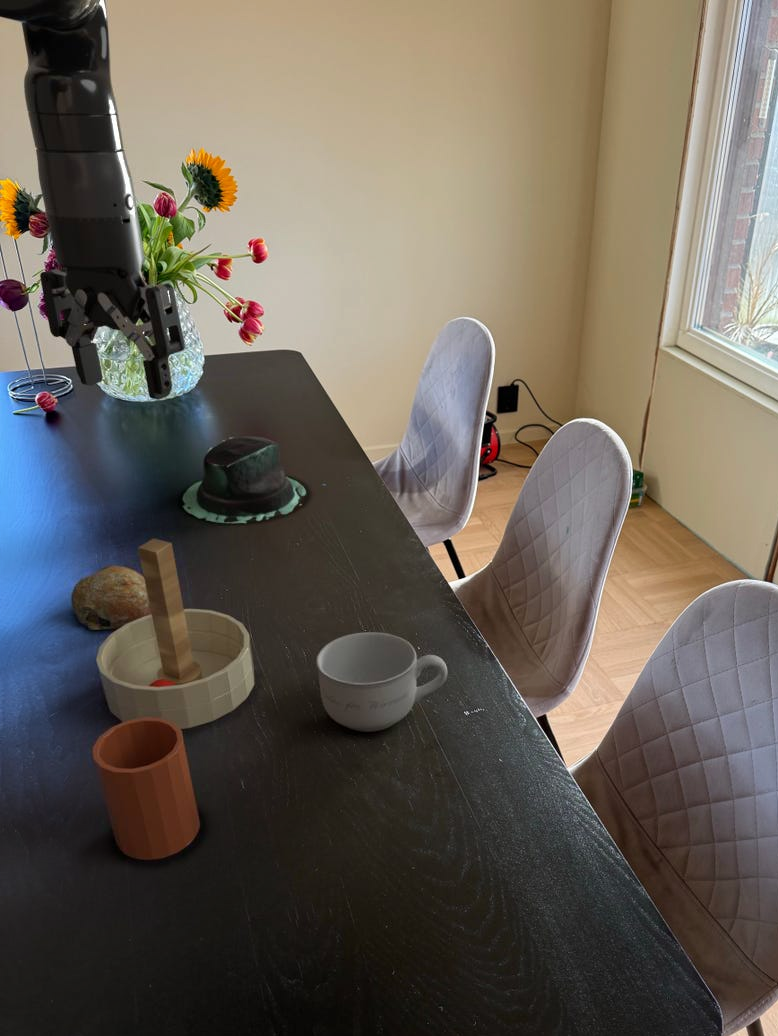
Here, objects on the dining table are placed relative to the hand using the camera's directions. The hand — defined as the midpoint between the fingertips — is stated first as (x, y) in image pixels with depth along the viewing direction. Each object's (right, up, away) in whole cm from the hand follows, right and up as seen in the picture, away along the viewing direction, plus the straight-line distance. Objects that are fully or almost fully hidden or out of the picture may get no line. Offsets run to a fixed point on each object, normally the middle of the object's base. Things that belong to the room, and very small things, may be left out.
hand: (126, 390), depth 87 cm
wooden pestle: (0, -30, +15) cm, 33 cm away
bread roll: (-13, -21, +29) cm, 38 cm away
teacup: (+24, -33, +12) cm, 43 cm away
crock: (+5, -43, -4) cm, 43 cm away
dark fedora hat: (-4, -1, +60) cm, 60 cm away
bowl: (0, -30, +15) cm, 34 cm away
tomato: (0, -31, +10) cm, 32 cm away
